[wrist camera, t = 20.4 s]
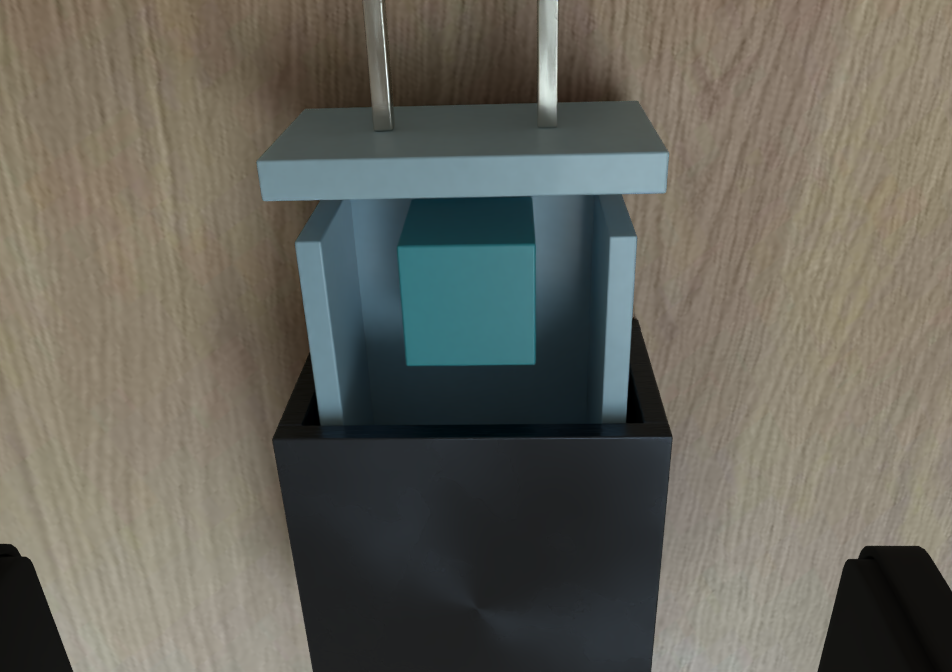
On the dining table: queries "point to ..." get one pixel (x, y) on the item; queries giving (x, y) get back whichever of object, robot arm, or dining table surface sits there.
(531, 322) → the teal block
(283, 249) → the dining table surface
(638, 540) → the small black cabinet
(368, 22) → the drawer
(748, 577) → the dining table surface
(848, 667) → the robot arm
